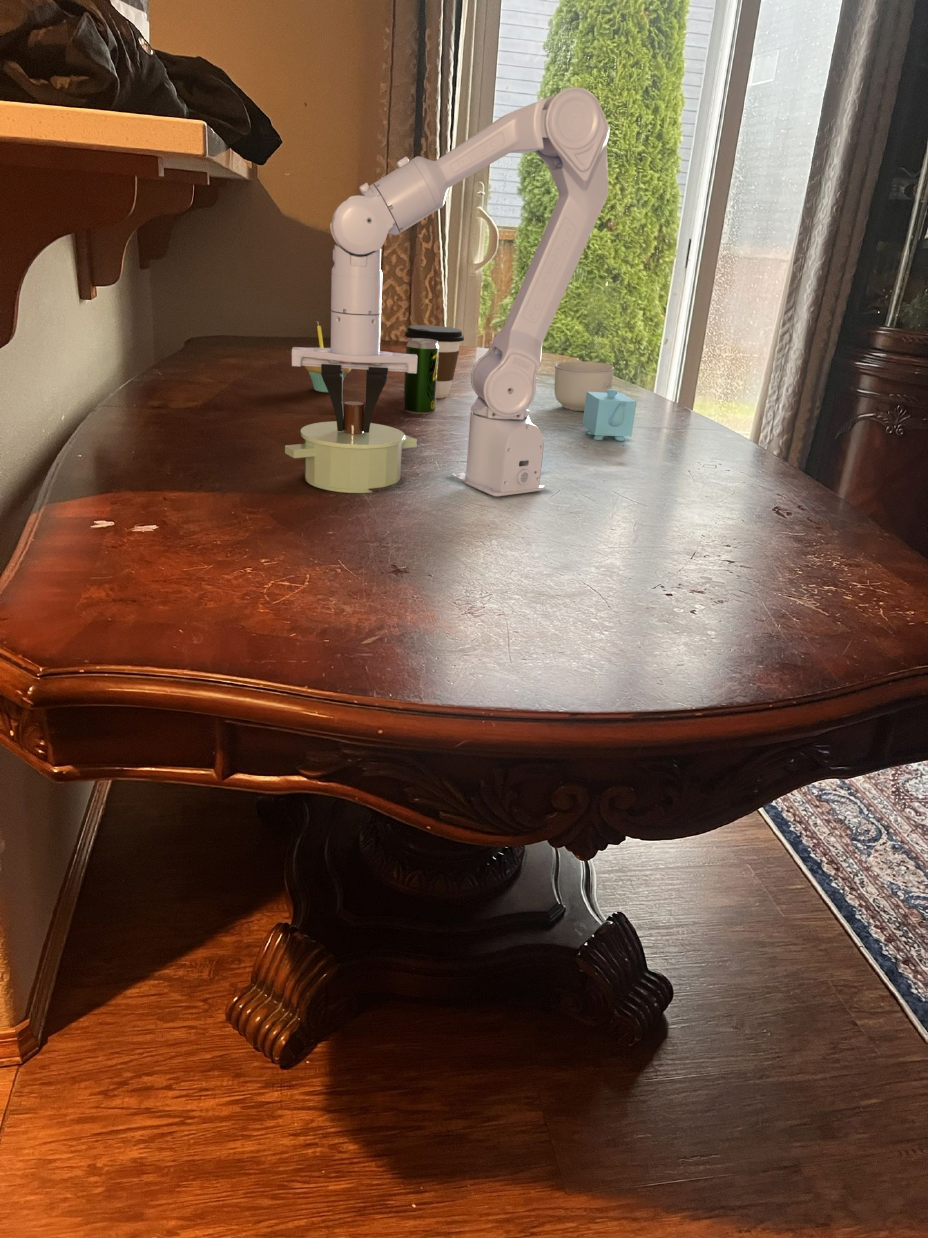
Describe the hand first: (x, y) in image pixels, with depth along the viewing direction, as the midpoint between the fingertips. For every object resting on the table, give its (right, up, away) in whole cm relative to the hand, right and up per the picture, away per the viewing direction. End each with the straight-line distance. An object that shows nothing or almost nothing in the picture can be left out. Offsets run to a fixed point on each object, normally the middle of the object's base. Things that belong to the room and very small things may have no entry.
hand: (353, 430), depth 108 cm
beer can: (+6, +12, +43) cm, 45 cm away
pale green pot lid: (0, -1, 0) cm, 1 cm away
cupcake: (-12, +19, +57) cm, 61 cm away
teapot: (+37, +6, +36) cm, 52 cm away
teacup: (+35, +17, +60) cm, 71 cm away
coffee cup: (+7, +19, +60) cm, 63 cm away
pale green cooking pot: (0, -6, +2) cm, 6 cm away
